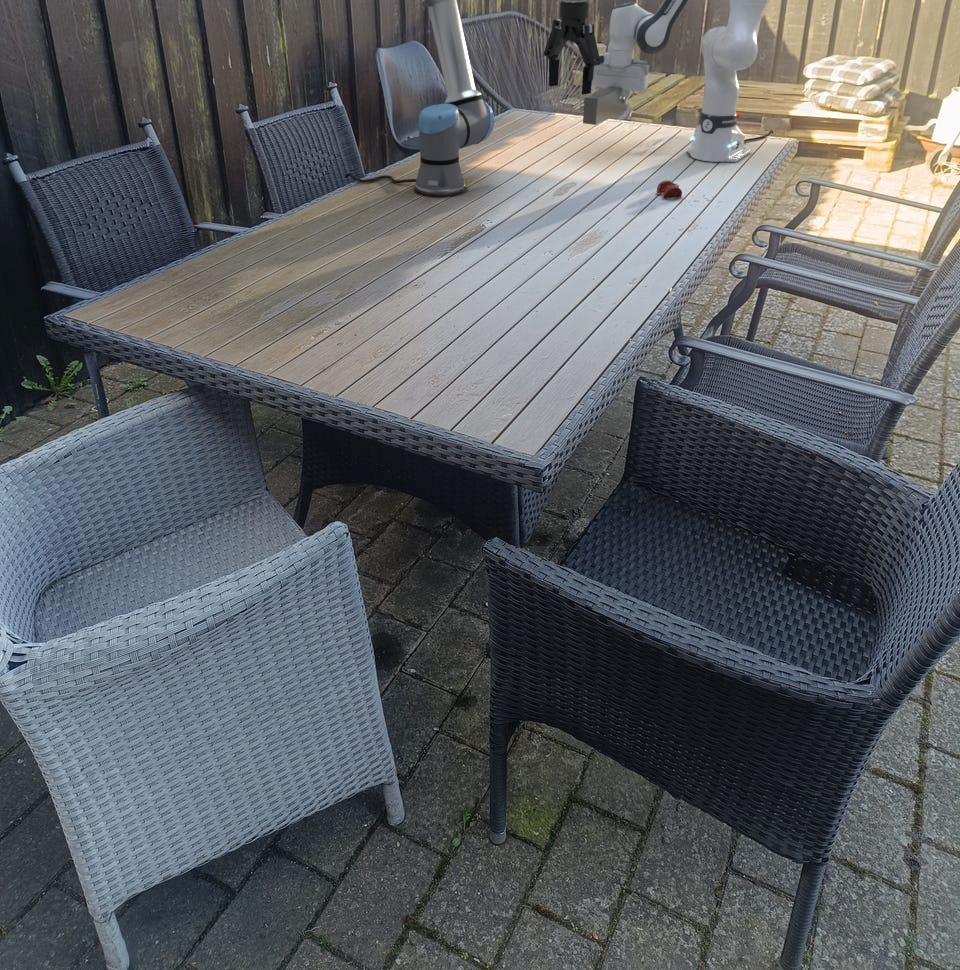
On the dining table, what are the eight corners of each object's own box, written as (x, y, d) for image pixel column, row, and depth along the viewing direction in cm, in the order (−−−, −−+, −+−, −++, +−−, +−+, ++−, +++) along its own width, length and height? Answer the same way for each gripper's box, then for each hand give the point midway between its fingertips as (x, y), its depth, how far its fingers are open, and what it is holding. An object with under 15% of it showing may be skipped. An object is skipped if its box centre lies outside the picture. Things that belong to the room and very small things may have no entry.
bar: (595, 125, 273) (597, 98, 269) (582, 123, 275) (584, 97, 271) (626, 110, 291) (628, 85, 287) (614, 108, 293) (616, 83, 289)
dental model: (673, 176, 254) (684, 184, 248) (671, 190, 257) (683, 198, 251) (655, 178, 253) (666, 186, 247) (654, 192, 256) (665, 200, 250)
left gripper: (618, 4, 212) (611, 95, 224) (554, -5, 228) (550, 81, 241) (596, 6, 208) (590, 99, 221) (532, -3, 225) (530, 84, 237)
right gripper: (653, 59, 278) (648, 104, 286) (596, 54, 286) (593, 98, 294) (646, 62, 273) (641, 108, 282) (588, 57, 282) (585, 101, 290)
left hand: (569, 89), depth 231 cm, fingers open, 13 cm apart
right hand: (616, 103), depth 288 cm, fingers closed on bar, 4 cm apart
